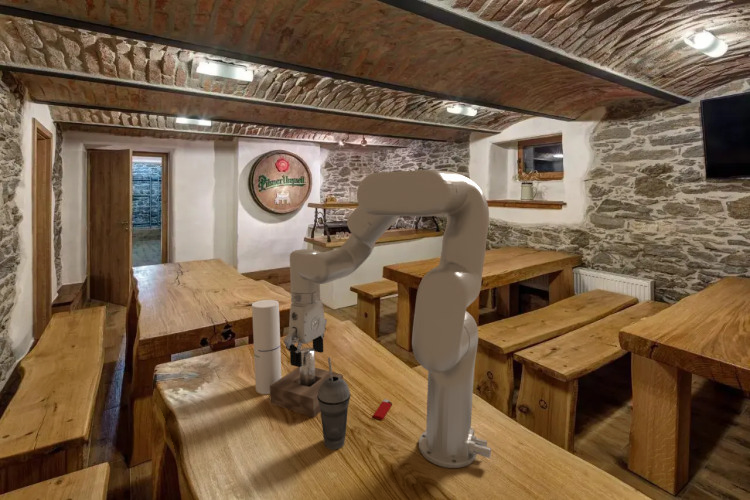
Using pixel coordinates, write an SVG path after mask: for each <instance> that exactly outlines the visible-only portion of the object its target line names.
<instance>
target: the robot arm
mask: <svg viewBox="0 0 750 500" xmlns="http://www.w3.org/2000/svg"><path fill="white" fill-rule="evenodd" d="M356 191H357V192H356V200H357V204H358V206H357V207H356V208H355V209H354V210H353V211H352V212H351V213H350V214H349V215H348V217H347V219H346V222H347V223H346V224H347V228H348V230H349V231H350V233H351V234H350V236H349V237H348V238H347V240H346V241H345V242H344V243H343V244H342V245H341V246H340V247H339V248H337V249H332V250H327V251H324V252H323V251H322V252H318V251H316V250H314V249H309V248H308V249H305V248H304V249H295V250H293V251H291V253H290V254H289V274H290V277H289V278H290V301H291V302H290V303H291V304H290V309H289V322H288V323H289V324H288V325H289V326H288V327H289V328H288V333H287V335H286V336H285V337H284V339H283V344H284V345H285V348H286V349H287V350H288V352H289V355H290V356H289V359H290V360H289V361H290V365H291V366H294V367H296V368H298V367H301V366H302V355H301V352H299V351H300V350H301V349H302V346H303V344H304V345H306V344H309V343H310V342H312V348H313V349H314V350H315V353H316V352H317V353H321V354H322V353H323V352H324V338H325V332H326V329H327V328H326V325H327V322H328V320H327V319H326V318H325V314H324V313H325V312H324V305H323V300H322V298H321V285H324V284H328V283H331V282H334V281H337V280H341V279H342V278H345V277H346V278H347V277H349V276H350V275H351V274H353V273H355V271H357V269H359V267H361V266H362V264H364V263H365V262H366V260H368V258H369V257H370V256H371V254H372V252H373V251H374V248H375V246H376V242H377V241H378V240H379V239H380V238H381V237H382V236H383V235H384V234H385V233H386V231H387V230H389V228H390V227H391V226H393V224H395V222H396V221H397V220H398V219H399V218H401V217H435V216H442V215H446V217H447V219H446V220H447V221H446V225H445V230H444V232H443V236H442V244H441V245H442V246H441V253H440V259H439V262H438V266H435V267H433V268H432V269H430V270H429V271H428V272H426V273H425V275H424V276H423V277H422V279H421V281H420V283H419V285H418V288H417V291H416V298H415V307H414V315H413V317H414V318H413V324H412V325H413V326H412V337H411V345H412V346H411V347H412V352H413V355H414V357H415V360H416V361H417V362H418V364H419V365H420V366H421V367H422V368H423V369H425V371H426V370H427V371H428V372H427V395H426V396H427V397H426V398H427V399H426V402H427V403H426V427H425V428H426V430H425V431H423V432H422V433H421V434H420V436H419V439H418V448H419V452H420V453H421V455H422V456H423V457H424V458H425V459H427V460H428V462H430V463H432V464H434V465H437V466H439V467H443V468H450V469H458V468H463V467H466V466H469V465H471V464H472V463H473V462H474V461H475V460H476V458H477V455H479V456H482V457H484V458H488V459H490V458H491V455H492V448H491V447H489V446H488V440H485V439H481V438H478V437H477V436H475V429H474V428H473V427H472V413H473V412H472V411H473V394H474V378H475V377H474V376H475V374H474V373H475V367H476V366H475V364H476V356H477V351H478V345H479V344H478V343H479V328H478V325H477V322H476V320H475V318H474V317H473V315H471V313H469V312H468V311H467V309H468V307H469V306H470V305H471V304H473V303H474V301H476V300H477V298H478V297H479V295H480V292H481V289H482V279H483V272H484V264H485V257H486V250H487V249H486V246H487V242H488V241H487V239H488V232H489V223H490V211H489V204H488V201H487V198H486V196H485V194H484V192H483V190H482V189H481V188H480V186H479V185H477V183H476V182H474V181H473V180H471V179H470V178H469V177H467V176H466V175H464V174H460V173H458V172H454V171H448V170H440V169H439V170H437V169H419V170H417V169H416V170H403V171H390V172H389V171H386V172H385V171H384V172H383V171H381V172H379V171H378V172H377V171H376V172H373V173H370V174H368V175H367V176H365V177H364V178H363V179H362V180H361V181H360V183H359V185H358V187H357V190H356ZM296 343H297V344H296Z"/></svg>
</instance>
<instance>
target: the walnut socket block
mask: <svg viewBox="0 0 750 500" xmlns="http://www.w3.org/2000/svg"><path fill="white" fill-rule="evenodd" d="M332 376H336V377H340V378H342V379H343V380H344V374H341V373H337V372H334V371H332ZM329 377H330V372H329V370H326V369H323V368H318V367H315V384H313V385H312V386H311V387H307V386H304V385H300V367H296V368H295V369H293V370H291V371H290V372H289V373H287V374H286V375H284V376H281V379H279V380H278V381H276V382H275V383H273V384H272V385H270V394H269V396H270V398H269V399H270V404H271V405H275V406H278V407H280V408H284V409H287V410H290V411H293V412H296V413H300V414H302V415H306V416H308V417H312V418H315V417H316V416H318V415H319V413H321V410H320V406H319V401H318V398H317V395H318V390H319V388H320V385H321V384H322V382H323V381H324V380H325V379H327V378H329Z"/></svg>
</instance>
